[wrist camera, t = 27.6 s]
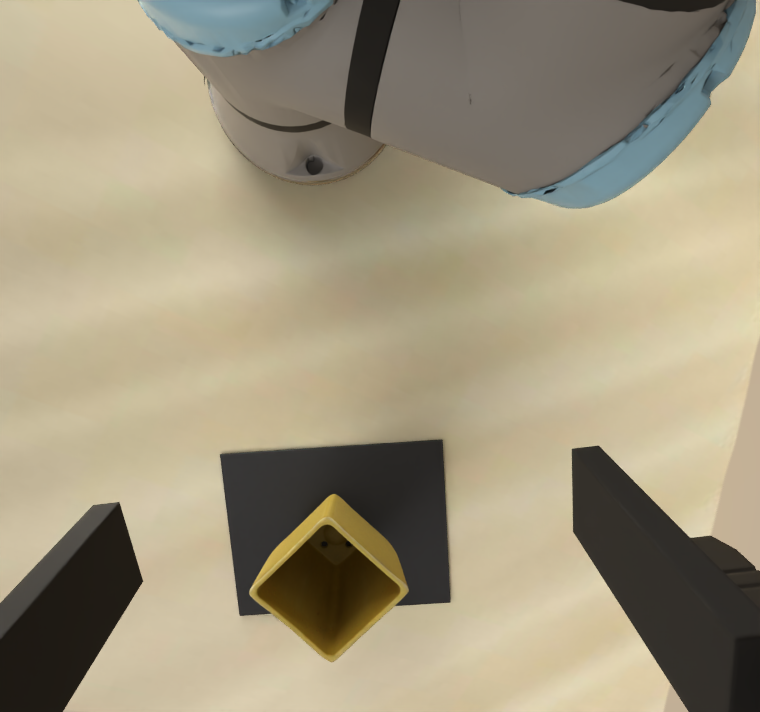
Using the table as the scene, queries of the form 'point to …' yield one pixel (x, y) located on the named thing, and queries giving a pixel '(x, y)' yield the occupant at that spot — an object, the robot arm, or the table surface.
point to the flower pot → (331, 579)
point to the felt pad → (358, 489)
